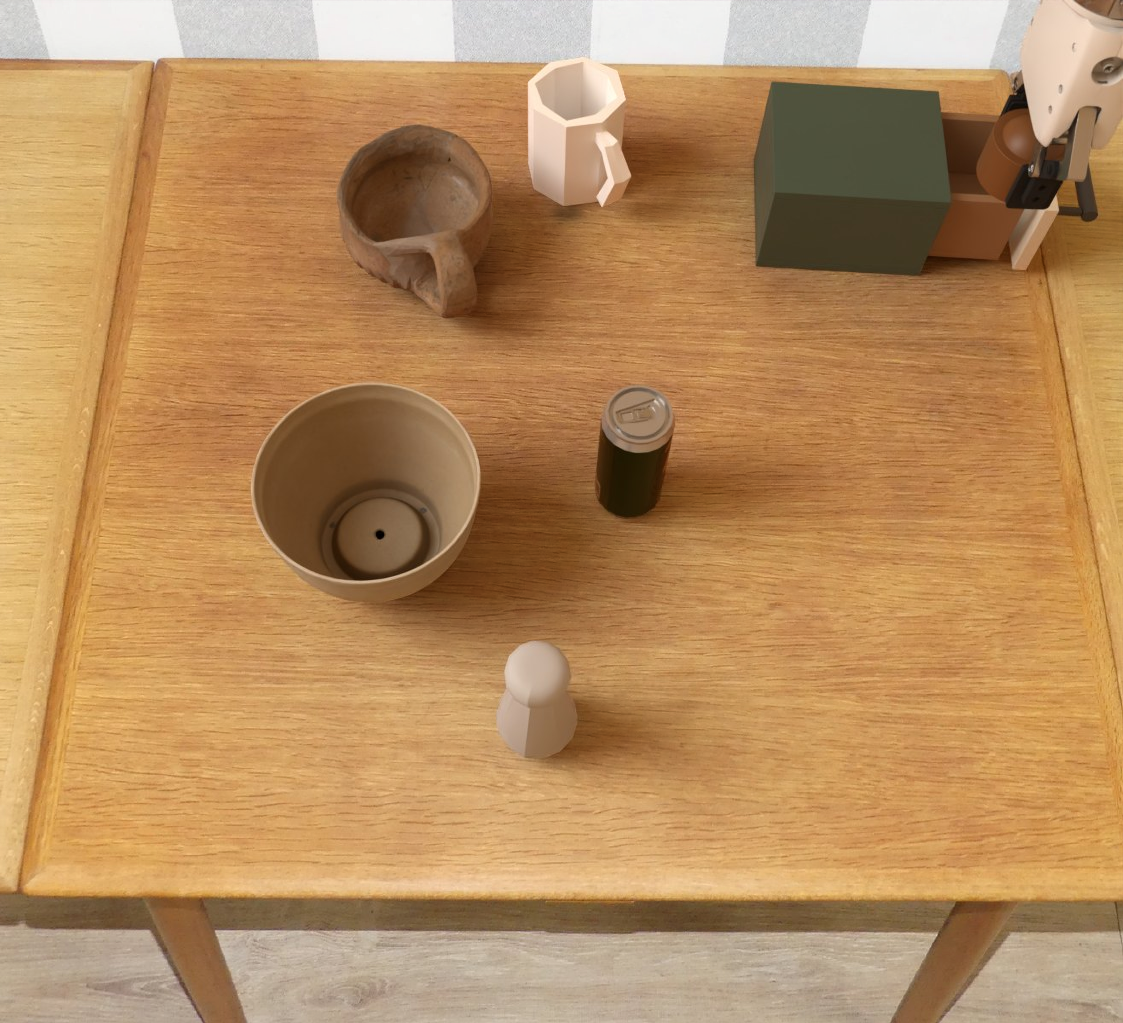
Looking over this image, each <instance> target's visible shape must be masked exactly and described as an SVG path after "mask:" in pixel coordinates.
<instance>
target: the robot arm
mask: <svg viewBox="0 0 1123 1023" xmlns="http://www.w3.org/2000/svg"><path fill="white" fill-rule="evenodd" d="M1019 52H1020V53H1019V55H1020V56H1019V59H1020V70H1019V71H1018V72H1017V74H1016V75H1015V76H1014V78H1013V81H1012V86H1011V90H1012V93H1013V94H1009V95H1008V96H1007V97H1008V98H1007V99H1006V101H1005V104H1004V106H1003V108H1002V110H1001V112H1000V115H999V116H1000V117H1001V116H1002V115H1004V114H1005V113H1007V112H1009V111H1012V110H1016V109H1023V108H1029V112H1030V117H1031V121H1032V126H1033V130H1034V134H1035V136H1036V138H1037V140H1036V143H1035V147H1034V150H1033V153H1032V156H1031V160H1030V163H1029V164H1025V165H1022V167H1021V169H1020V171H1019V173H1018V175H1017V177H1016V179H1015V181H1014V183H1013V185H1012V187H1011V189H1010V191H1009V193H1008V195H1007V197H1006V199H1005V203H1006V207H1007V208H1011V209H1035V210H1045V209H1047V208H1049V206H1050V205H1051V203H1052V201H1053V199H1054V198H1055V196H1056V195H1057V194H1058V193H1059V190H1060V189H1061V187H1062V186H1063V183H1064V182H1074V181H1079V182H1082V181H1084V180H1085V177H1086V173H1087V167H1088V161H1090V155H1091V150H1103V149H1105V148H1106V146H1108V144H1109V143H1110V142H1111V140H1112V138H1113V136H1114V134H1115V133H1116V131H1117V129H1118V127H1119V126H1120V124H1121V122H1122V120H1123V0H1040V1H1039V3H1038V5H1037V7H1036V9H1035V11H1034V13H1033V16H1032V18H1031V19H1030V21H1029V24H1028V27H1027V29H1026V32H1025V34H1024V37H1023V40H1022V42H1021V46H1020V51H1019ZM1000 117H999V118H1000ZM1068 129H1069V131H1067V130H1068ZM1049 145H1066V149H1065V152H1064V155H1063V158H1062V161H1060V160H1045V157H1046V154H1047V151H1048V148H1049Z"/></svg>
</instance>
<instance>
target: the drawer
mask: <svg viewBox="0 0 1123 1023" xmlns="http://www.w3.org/2000/svg"><path fill="white" fill-rule="evenodd" d="M941 115H942V123H943V132H944V141H945V149H946V158H947V167H948V175H949V184H950V192H951V201H952V203H951V205H950V207H949V209H948V211H947V214H946V216H945V218H944V220H943V223H942V225H941V227H940V229H939V232H938V234H937V236H936V238H935V241H934V243H933V245H932V247H931V250H930V252H929V254H928V256H927V257H942V258H958V259H975V260H992V261H998V260H999V259H1000V256H1001V254H1002V253H1003V251H1004V249H1005V247H1006V245H1007V243H1008V247H1009V253H1010V260H1011V268H1012V270H1016V271H1017V270H1018V271H1019V270H1020V271H1026V270H1027V268H1028V267H1029V265H1030V263H1031V261H1032V260H1033V257H1035V255H1036V252H1037V251H1038V249H1039V248H1040V246H1041V244H1042V242H1043V240H1044V239H1045V237H1046V235H1047V234H1048V231H1049V230H1050V228H1051V226H1052V225H1053V224H1054V223H1053V222H1054V221H1055V219H1056V218H1057V216H1058V217H1059V216H1060V217H1073V218H1074V217H1075V218H1080V220H1081V221H1082V222H1084V223H1090V222H1091V223H1092V222H1093V221H1096V220H1097V219H1098V217H1099V210H1098V205H1097V199H1096V194H1095V189H1094V183H1093V178H1092V173H1091V168H1090V162H1089V161H1090V160H1089V161H1088V167H1087V173H1086V177H1085V180H1084V181H1082V182H1079V181H1073V182H1074V188H1075V193H1076V199H1077V204H1078V206H1064V205H1059V202H1058V196H1057V194H1056V196H1055V198H1054V199H1053V201H1052V203H1051V205H1050V206H1049V208H1047V209H1045V210H1035V209H1011V208H1007V207H1006V203H1005V202H1003V201H1000V200H998V199H996V198H995V197H993V196H992V195H990V194H989V193H988V192H987V191H986V190H985V189H984V188H983V187H982V185H981V184H980V182H979V180H978V177H977V173H976V166H977V162H978V160H979V158H980V155H981V153H982V151H983V149H984V147H985V145H986V142H987V140H988V138H989V136H990V134H991V132H992V129H993V127H994V125H995V123H996V121H997V120H998V119H999V117H1000V115H998V114H997V115H996V114H981V113H980V114H978V113H964V112H963V113H962V112H943V111H941Z"/></svg>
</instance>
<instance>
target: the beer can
mask: <svg viewBox="0 0 1123 1023" xmlns="http://www.w3.org/2000/svg"><path fill="white" fill-rule="evenodd" d="M675 427H676V421H675V414H674V410H673V405H672V404H671V402H670V400H669V398H668V397H667V396H666V395H665V394H664V393H663V392H662V391H660V390H658V389H657V388H655V387H653V386H649V385H645V384H631V385H630V384H629V385H627V386H624V387H621V388H619V389H618V390H616V392H614V393H612V395H611V396H610V397H609V399H608V401H607V402H606V404H605V406H604V407H603V409H602V413H601V417H600V426H599V437H598V446H597V457H596V467H595V477H594V492H595V493H594V494H595V497H596V498H597V501H598V503H599V505H601V507H603V508H604V509H605V510H606V511H607V513H610V514H611V515H613V516H615V517H618V518H622V519H636V518H638V517H641V516H644V515H647V514H649V512H651V511H652V510H653V509H655V508H656V506H657V505H658V503H659V501H660V499H661V495H662V491H663V486H664V481H665V476H666V472H667V468H668V461H669V456H670V451H671V448H672V442H673V437H674V432H675Z"/></svg>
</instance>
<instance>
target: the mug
mask: <svg viewBox="0 0 1123 1023" xmlns="http://www.w3.org/2000/svg"><path fill="white" fill-rule="evenodd" d="M626 101H627V98H626V95H625V92H624V88H623V84H622V81H621V78H620V74H619V71H618V70H617V69H614V68H612V67H611V66H607V65H605V64H602V63H600V62H598V61H596V60H593V59H590V58H588V57H586V56H582V57H581V56H580V57H576V58H570V59H569V58H568V59H563V60H555V61H550V62H548V63H547V64H546V65H545V66H544V67H543V68H542V69H541V70H540V71H539V72H537V73H536V74H535V75H534V76H533V77H532V78H531V79H529V81H527V155H528V156H527V164H528V168H529V169H528V170H529V174H530V179H531V183H532V188H533V190H535V191H536V192H538V193H540V194H542V195H543V196H545V197H547V198H549V199H550V200H552V201H553V202H555V203H557V204H559V205H561V206H563V207H568V206H569V207H570V206H575V205H576V206H577V205H584V204H593V203H597V202H598V203H599V205H600V206H601V208H604V207H607V206H609V205H612V204H614V203H615V202H618V201H620V200H621V199H622V197H623V196H624V194H625V191H626V189H627V187H628V184H629V182H630V180H631V178H632V174H631V171H630V169H629V165H628V163H627V161H626V159H625V155H624V153H623V150H622V148H623V147H622V146H623V135H624V125H625V124H624V123H625V114H626V113H625V112H626V104H627V103H626Z"/></svg>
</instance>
